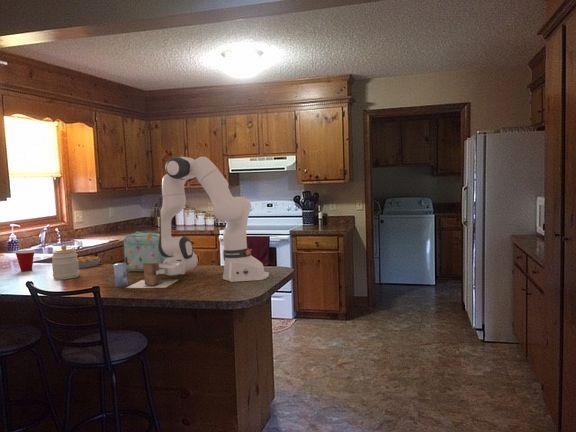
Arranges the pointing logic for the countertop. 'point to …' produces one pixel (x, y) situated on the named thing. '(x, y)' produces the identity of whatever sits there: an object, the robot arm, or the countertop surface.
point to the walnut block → (151, 273)
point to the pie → (88, 261)
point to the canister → (120, 275)
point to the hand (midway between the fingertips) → (150, 272)
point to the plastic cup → (25, 259)
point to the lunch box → (141, 250)
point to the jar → (65, 263)
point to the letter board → (161, 285)
